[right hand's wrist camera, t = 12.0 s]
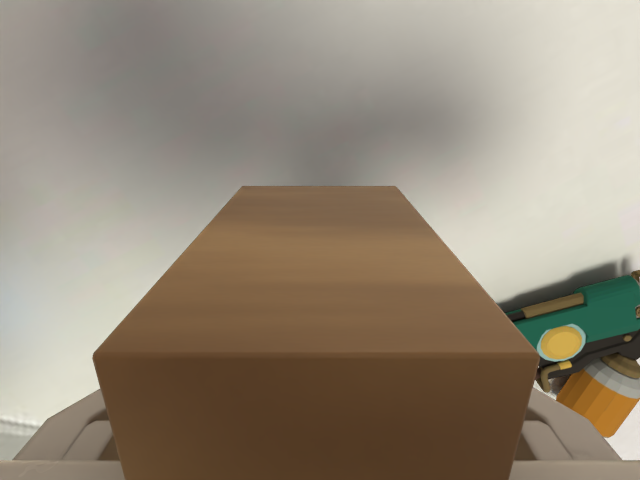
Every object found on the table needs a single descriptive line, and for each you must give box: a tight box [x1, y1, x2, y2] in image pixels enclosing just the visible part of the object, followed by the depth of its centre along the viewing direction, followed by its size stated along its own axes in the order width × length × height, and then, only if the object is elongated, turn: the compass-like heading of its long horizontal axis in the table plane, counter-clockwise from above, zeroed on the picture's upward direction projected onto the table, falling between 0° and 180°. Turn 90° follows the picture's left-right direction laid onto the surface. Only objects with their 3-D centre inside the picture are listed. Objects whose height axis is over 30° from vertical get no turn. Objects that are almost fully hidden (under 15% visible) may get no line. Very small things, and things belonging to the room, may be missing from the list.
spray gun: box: [505, 270, 640, 438], centre depth 29 cm, size 4×17×15 cm
